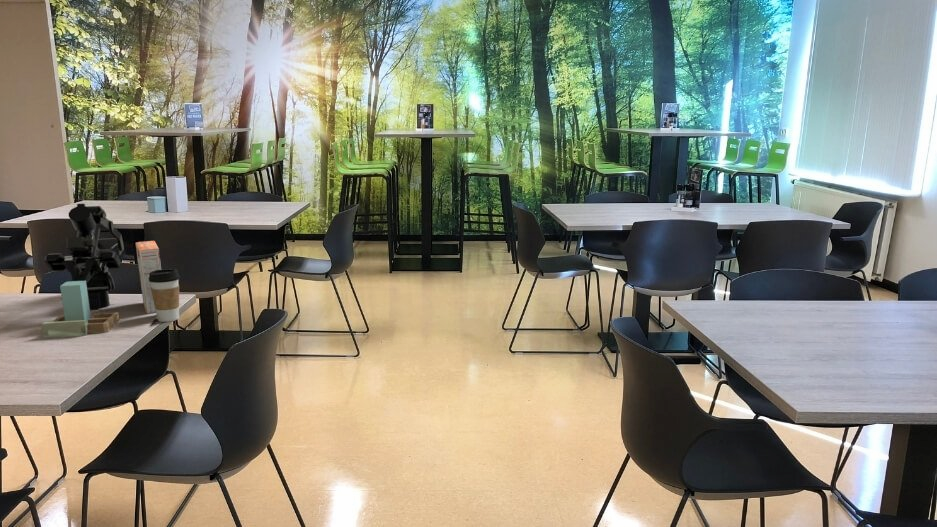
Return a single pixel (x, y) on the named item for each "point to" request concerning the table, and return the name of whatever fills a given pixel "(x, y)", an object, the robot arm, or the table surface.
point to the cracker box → (147, 270)
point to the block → (75, 301)
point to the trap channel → (80, 325)
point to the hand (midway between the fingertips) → (78, 285)
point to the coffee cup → (165, 293)
